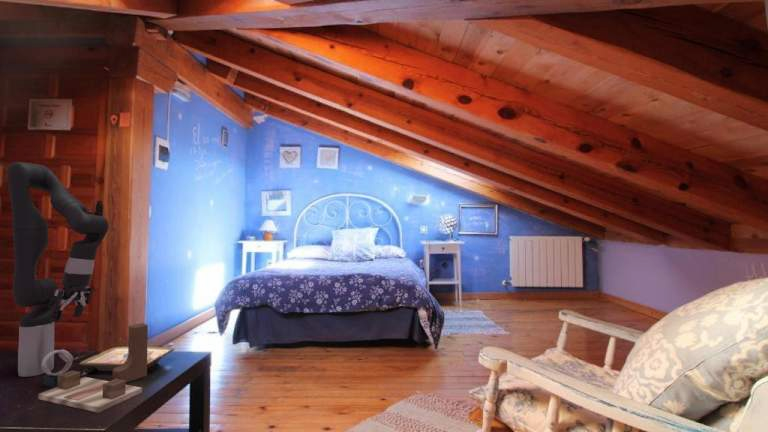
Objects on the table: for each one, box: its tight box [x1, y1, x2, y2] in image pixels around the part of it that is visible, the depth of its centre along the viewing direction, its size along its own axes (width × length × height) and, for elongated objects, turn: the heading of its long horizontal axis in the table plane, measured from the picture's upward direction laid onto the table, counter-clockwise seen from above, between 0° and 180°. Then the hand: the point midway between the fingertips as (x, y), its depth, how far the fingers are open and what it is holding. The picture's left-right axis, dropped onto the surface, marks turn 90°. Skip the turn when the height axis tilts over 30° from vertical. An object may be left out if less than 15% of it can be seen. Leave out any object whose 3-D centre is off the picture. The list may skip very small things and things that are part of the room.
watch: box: [41, 348, 74, 389], centre depth 122 cm, size 6×8×11 cm
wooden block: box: [112, 322, 149, 383], centre depth 125 cm, size 9×4×18 cm, turn 144°
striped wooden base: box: [37, 370, 143, 414], centre depth 113 cm, size 26×13×6 cm, turn 72°
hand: (66, 319), depth 124 cm, fingers open, 8 cm apart
